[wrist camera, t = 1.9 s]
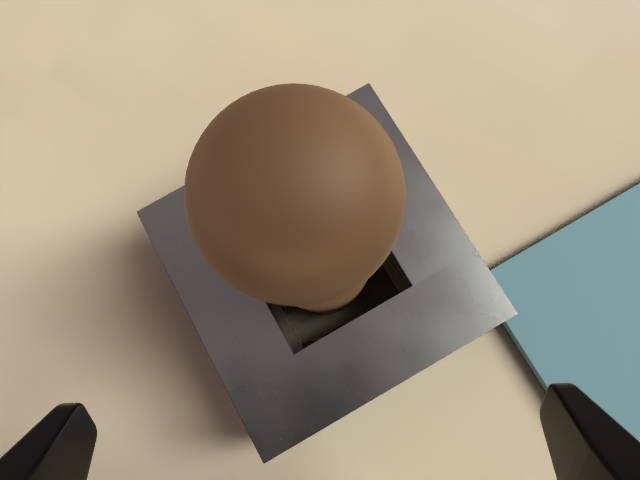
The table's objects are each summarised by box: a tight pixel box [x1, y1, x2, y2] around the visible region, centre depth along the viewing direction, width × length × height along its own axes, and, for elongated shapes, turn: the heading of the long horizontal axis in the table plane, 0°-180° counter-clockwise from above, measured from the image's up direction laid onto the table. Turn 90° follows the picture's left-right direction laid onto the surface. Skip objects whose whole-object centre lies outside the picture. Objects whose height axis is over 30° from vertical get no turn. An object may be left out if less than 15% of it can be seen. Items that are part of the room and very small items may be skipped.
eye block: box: [137, 83, 518, 463], centre depth 19 cm, size 10×10×4 cm
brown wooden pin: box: [184, 84, 406, 314], centre depth 13 cm, size 4×4×14 cm
